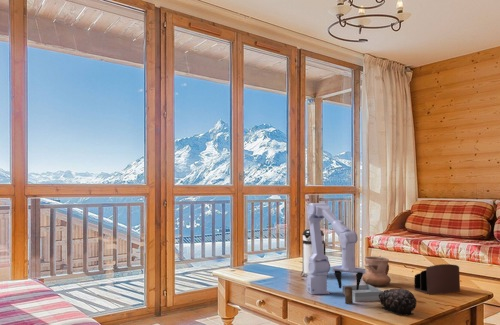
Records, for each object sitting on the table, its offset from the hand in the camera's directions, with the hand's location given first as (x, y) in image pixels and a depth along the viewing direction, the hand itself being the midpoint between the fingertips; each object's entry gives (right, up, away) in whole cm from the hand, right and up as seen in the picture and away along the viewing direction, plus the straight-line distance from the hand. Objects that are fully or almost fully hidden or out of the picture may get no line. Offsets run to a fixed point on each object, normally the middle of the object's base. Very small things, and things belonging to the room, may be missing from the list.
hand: (348, 288), depth 189 cm
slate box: (+9, -7, +11) cm, 16 cm away
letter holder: (+50, -9, +24) cm, 56 cm away
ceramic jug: (+24, -9, +37) cm, 45 cm away
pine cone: (+17, -6, -12) cm, 21 cm away
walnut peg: (0, -6, 0) cm, 6 cm away
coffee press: (-7, -10, +58) cm, 60 cm away
